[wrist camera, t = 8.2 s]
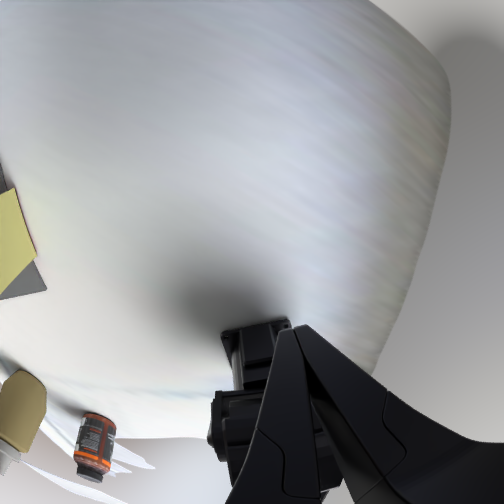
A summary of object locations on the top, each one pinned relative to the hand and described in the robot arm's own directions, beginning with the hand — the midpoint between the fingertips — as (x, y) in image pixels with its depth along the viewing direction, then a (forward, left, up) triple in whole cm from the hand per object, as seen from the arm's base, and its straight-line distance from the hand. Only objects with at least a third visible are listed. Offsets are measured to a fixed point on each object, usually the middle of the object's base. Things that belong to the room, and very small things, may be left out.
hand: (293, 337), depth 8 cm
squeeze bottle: (-18, +37, -13) cm, 44 cm away
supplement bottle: (-28, +29, -13) cm, 43 cm away
